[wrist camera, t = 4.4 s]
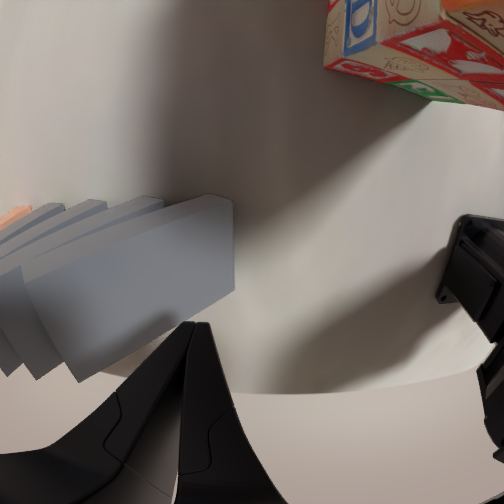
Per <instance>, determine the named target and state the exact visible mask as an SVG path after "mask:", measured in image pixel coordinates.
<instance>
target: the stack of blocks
mask: <svg viewBox="0 0 504 504" xmlns="http://www.w3.org/2000/svg"><path fill="white" fill-rule="evenodd" d="M323 67H324V68H326V69H331V70H335V71H340V72H344V73H348V74H352V75H356V76H360V77H364V78H367V79H371V80H375V81H378V82H381V83H387V84H390V85H393V86H396V87H399V88H402V89H404V90H407V91H410V92H412V93H415V94H417V95H420V96H422V97H425V98H427V99H429V100H432V101H440V102H451V103H459V104H471V105H476V106H482V107H487V108H492V109H496V110H501V111H504V0H329V7H328V16H327V26H326V37H325V48H324V58H323Z"/></svg>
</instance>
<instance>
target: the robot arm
mask: <svg viewBox="0 0 504 504" xmlns="http://www.w3.org/2000/svg"><path fill="white" fill-rule="evenodd" d="M468 222H469V223H468ZM436 300H437V302H438V303H439V304H446V303H455V302H459V303H460V305H461V306H462V307H463V309H464V310H465V311H466V313H467V314H468V315H469V317H470V318H471V319H472V321H473V322H476V323H477V325H478V326H479V328H480V329H481V330H482V332H483V333H484V335H485V336H486V338H487V339H488V341H489V342H490V343H495V345H496V346H495V348H494V349H493V350H492V352H491V353H490V355H489V356H488V357H487V359H486V360H485V361H484V363H482V364H481V365H480V366H479V368H478V369H477V370H476V372H477V376H478V381H479V385H480V391H481V396H482V402H483V407H484V414H485V419H484V425H485V427H486V430H487V432H488V435H489V436H490V438H491V440H492V442H493V443H494V444H495V445H496V446H497V447H498V448H499V449H498V450H497V451H495V452H494V453H493V458H494V459H496V460H498V461H500V462H502V463H504V219H498V218H491V217H485V216H478V215H472V214H466V215H465V216H464V217H463V218H462V221H461V224H460V228H459V231H458V235H457V238H456V241H455V245H454V248H453V251H452V254H451V257H450V260H449V263H448V266H447V268H446V271H445V274H444V276H443V279H442V282H441V284H440V287H439V289H438V292H437V294H436ZM177 471H178V475H179V476H178V485H177V493H176V498H175V502H174V504H288V503H287V502H286V501H285V499H284V498H283V497H282V495H281V494H280V493H279V491H278V490H277V489H276V487H275V486H274V484H273V482H272V481H271V479H270V478H269V476H268V474H267V473H266V471H265V469H264V468H263V466H262V464H261V463H260V461H259V459H258V458H257V456H256V454H255V452H254V451H253V449H252V447H251V445H250V443H249V441H248V439H247V437H246V435H245V433H244V431H243V428H242V426H241V423H240V420H239V418H238V415H237V412H236V409H235V407H234V403H233V400H232V397H231V394H230V391H229V388H228V384H227V381H226V378H225V375H224V371H223V368H222V365H221V361H220V358H219V355H218V351H217V348H216V344H215V341H214V337H213V334H212V330H211V326H210V324H209V323H208V322H197V323H196V322H192V321H183V322H182V323H181V324H180V325H179V326H178V327H177V328H176V329H175V330H174V331H173V332H172V333H171V334H170V335H169V336H168V337H167V338H166V339H165V340H164V341H163V342H162V343H161V344H160V345H159V346H158V347H157V348H156V349H155V350H154V351H153V352H152V353H151V354H150V355H149V356H148V357H147V359H146V360H145V361H144V362H143V363H142V364H141V365H140V366H139V367H138V368H137V369H136V370H135V371H134V372H133V373H132V374H131V375H130V376H129V377H128V378H127V379H126V380H125V381H124V382H123V383H122V384H121V385H120V386H119V387H118V388H117V389H116V392H113V393H112V394H111V395H110V397H108V398H107V400H105V402H103V403H102V404H101V405H100V406H99V407H98V408H97V409H96V410H95V411H94V412H93V413H91V415H89V416H88V417H87V418H85V419H84V420H83V421H82V422H81V423H79V424H78V425H77V426H76V427H74V428H73V429H72V430H70V431H69V432H68V433H67V434H65V435H64V436H63V437H62V438H60V439H59V440H58V441H56V442H55V443H53V444H51V445H50V446H47V447H45V448H42V449H38V450H32V451H25V452H18V453H8V454H0V504H171V501H172V496H173V491H174V485H175V480H176V476H177ZM480 504H504V492H502V493H500V494H498V495H496V496H494V497H492V498H490V499H488V500H486V501H484V502H482V503H480Z"/></svg>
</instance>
